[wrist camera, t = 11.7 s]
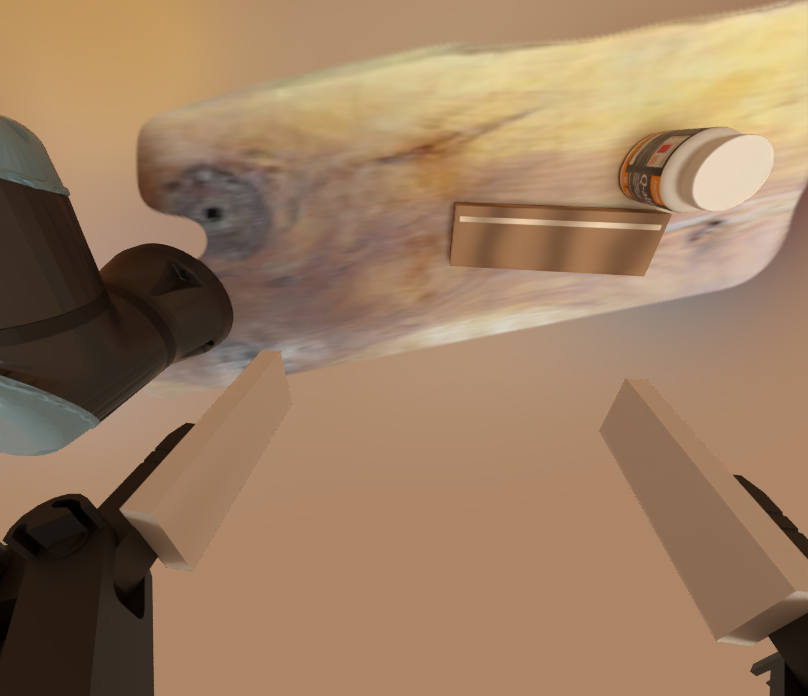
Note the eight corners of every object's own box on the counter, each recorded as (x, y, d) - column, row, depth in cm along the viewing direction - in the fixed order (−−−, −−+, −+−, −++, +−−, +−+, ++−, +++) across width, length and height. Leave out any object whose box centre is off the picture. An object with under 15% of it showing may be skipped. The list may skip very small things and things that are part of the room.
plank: (449, 258, 36) (450, 265, 34) (455, 201, 33) (456, 205, 31) (631, 268, 35) (644, 276, 33) (656, 209, 32) (672, 214, 29)
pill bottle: (603, 183, 31) (663, 196, 23) (652, 118, 28) (742, 105, 20) (649, 211, 32) (723, 233, 23) (701, 150, 29) (807, 151, 20)
